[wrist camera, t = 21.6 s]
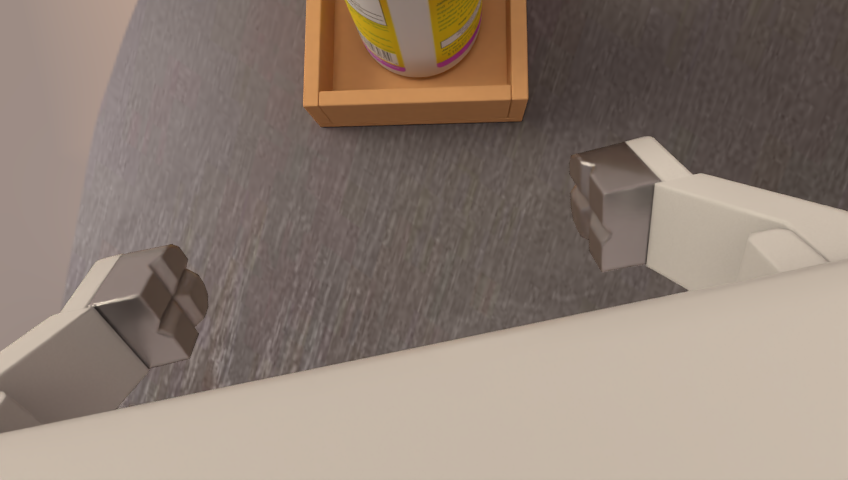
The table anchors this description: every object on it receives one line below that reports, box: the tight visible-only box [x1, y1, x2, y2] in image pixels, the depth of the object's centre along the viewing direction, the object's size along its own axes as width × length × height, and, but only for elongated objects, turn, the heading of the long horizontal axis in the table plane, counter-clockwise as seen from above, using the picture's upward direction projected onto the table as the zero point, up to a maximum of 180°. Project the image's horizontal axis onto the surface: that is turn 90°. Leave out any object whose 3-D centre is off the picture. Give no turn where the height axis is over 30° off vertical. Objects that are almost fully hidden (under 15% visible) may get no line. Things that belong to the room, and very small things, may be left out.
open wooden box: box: [303, 0, 528, 127], centre depth 26 cm, size 11×11×3 cm
